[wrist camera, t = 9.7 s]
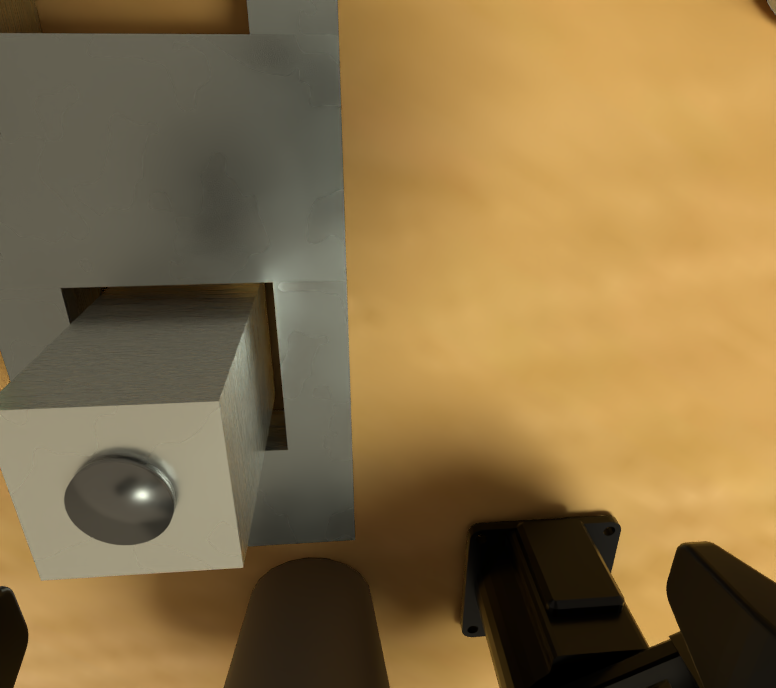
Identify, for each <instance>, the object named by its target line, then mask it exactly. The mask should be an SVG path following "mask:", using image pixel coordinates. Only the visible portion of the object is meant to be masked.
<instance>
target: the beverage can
mask: <svg viewBox="0 0 776 688" xmlns="http://www.w3.org/2000/svg"><path fill="white" fill-rule="evenodd" d="M766 1H767V3H768V5H769V6H770V8H771V9H772V11H773V12H774V13H775V15H776V0H766Z"/></svg>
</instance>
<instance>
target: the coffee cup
mask: <svg viewBox="0 0 776 688" xmlns="http://www.w3.org/2000/svg"><path fill="white" fill-rule="evenodd" d="M224 688H390V686H389V681H388V676H387V671H386V667H385V662H384V657H383V652H382V647H381V642H380V637H379V632H378V627H377V622H376V617H375V612H374V608H373V603H372V598H371V593H370V589H369V585H368V584H367V583H366V581H365V580H364V579H363V577H362V576H361V575H360V573H358V572H357V571H355V570H354V569H352V568H350V567H349V566H347V565H346V564H343V563H339V562H336V561H333V560H330V559H319V558H305V559H299V560H294V561H289V562H286V563H284V564H282V565H280V566H277V567H275V568H273V569H271V570H270V571H269V572H268V573H267V574H265V575H264V576H263V577H262V578H261V579H259V581H258V583H257V584H256V586H255V588H254V590H253V592H252V594H251V597H250V601H249V604H248V607H247V611H246V614H245V617H244V621H243V624H242V628H241V631H240V634H239V638H238V641H237V644H236V648H235V651H234V654H233V658H232V661H231V665H230V668H229V671H228V675H227V678H226V681H225V685H224Z"/></svg>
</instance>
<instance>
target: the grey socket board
mask: <svg viewBox="0 0 776 688" xmlns="http://www.w3.org/2000/svg"><path fill="white" fill-rule="evenodd" d="M247 9H248V20H249V31H250V34H81V33H42V30H41V26H40V21H39V17H38V13H37V8H36V4H35V0H0V351H1V354H2V357H3V360H4V363H5V366H6V369H7V372H8V375H9V378H10V381H12V380H13V379H14V378H15V377H16V376H17V375H18V374H19V373H20V372H21V371H22V370H23V369H24V368H25V367H26V366H28V365H29V364H30V363H31V362H32V361H33V360H34V359H35V358H36V357H37V356H38V355H39V354H40V353H41V352H42V351H43V350H44V349H45V348H46V347H47V346H48V345H49V344H50V343H51V342H52V341H54V340H55V339H56V338H57V337H58V336H59V335H60V334H61V333H62V332H63V331H64V330H65V329H66V328H67V327H68V326H69V325H70V324H71V323H72V322H73V321H74V320H75V319H76V318H77V317H78V316H79V315H81V314H82V313H83V312H84V311H85V310H86V309H87V308H88V307H89V306H90V305H91V304H92V303H93V302H94V301H95V300H96V299H97V298H98V297H99V296H100V295H101V294H102V290H101V287H116V286H153V285H189V284H226V283H263V282H273V292H274V303H275V314H276V325H277V336H278V346H279V357H280V368H281V379H282V390H283V401H284V410H272V415H271V421H270V426H269V432H268V437H267V443H266V448H265V453H264V459H263V464H262V470H261V475H260V481H259V486H258V491H257V497H256V502H255V508H254V513H253V519H252V524H251V529H250V535H249V540H248V546H264V545H280V544H297V543H313V542H330V541H346V540H355V521H354V490H353V459H352V429H351V398H350V367H349V337H348V306H347V275H346V245H345V214H344V183H343V153H342V122H341V92H340V61H339V30H338V0H247ZM248 546H247V547H248Z"/></svg>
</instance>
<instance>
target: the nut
mask: <svg viewBox="0 0 776 688" xmlns="http://www.w3.org/2000/svg"><path fill="white" fill-rule="evenodd" d="M274 399H275V387H274V377H273V367H272V357H271V346H270V336H269V326H268V316H267V306H266V295H265V285H264V282H263V283H226V284H189V285H153V286H116V287H109V288H108V289H107V290H105V291H104V292H103V293H102V294H101V295H100V296H99V297H98V298H97V299H96V300H95V301H94V302H93V303H92V304H91V305H90V306H89V307H88V308H87V309H86V310H85V311H84V312H83V313H82V314H81V315H79V316H78V317H77V318H76V319H75V320H74V321H73V322H72V323H71V324H70V325H69V326H68V327H67V328H66V329H65V330H64V331H63V332H62V333H61V334H60V335H59V336H58V337H57V338H56V339H55V340H54V341H52V342H51V343H50V344H49V345H48V346H47V347H46V348H45V349H44V350H43V351H42V352H41V353H40V354H39V355H38V356H37V357H36V358H35V359H34V360H33V361H32V362H31V363H30V364H29V365H28V366H26V367H25V368H24V369H23V370H22V371H21V372H20V373H19V374H18V375H17V376H16V377H15V378H14V379H13V380H12V381H11V382H10V383H9V384H8V385H7V386H6V387H5V388H4V389H3V390H2V391H0V468H1V471H2V474H3V476H4V479H5V482H6V485H7V487H8V490H9V493H10V496H11V498H12V501H13V504H14V507H15V509H16V512H17V515H18V518H19V520H20V523H21V526H22V529H23V531H24V534H25V537H26V540H27V542H28V545H29V548H30V551H31V554H32V556H33V559H34V562H35V565H36V567H37V570H38V573H39V576H40V578H41V581H42V580H58V579H73V578H89V577H105V576H121V575H136V574H152V573H168V572H184V571H200V570H215V569H231V568H243V567H244V562H245V557H246V551H247V546H248V540H249V535H250V529H251V524H252V519H253V513H254V508H255V502H256V497H257V491H258V486H259V481H260V475H261V470H262V464H263V459H264V453H265V448H266V443H267V437H268V432H269V426H270V421H271V415H272V410H273V405H274Z"/></svg>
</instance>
